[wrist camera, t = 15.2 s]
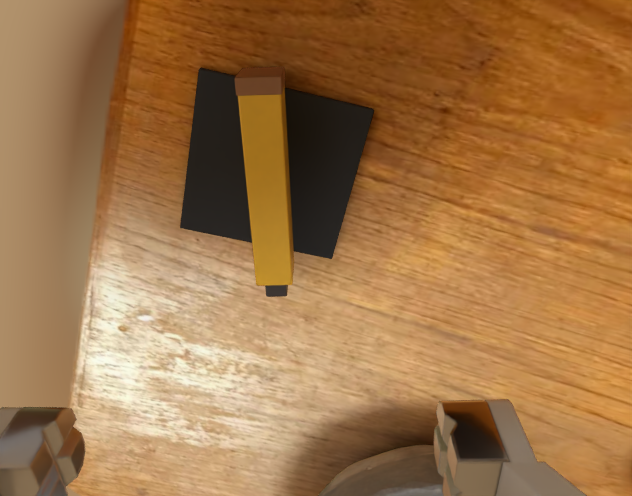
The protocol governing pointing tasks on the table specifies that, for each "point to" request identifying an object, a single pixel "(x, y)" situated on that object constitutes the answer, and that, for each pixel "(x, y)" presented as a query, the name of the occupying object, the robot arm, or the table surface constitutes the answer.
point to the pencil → (267, 174)
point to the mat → (304, 164)
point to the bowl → (390, 475)
